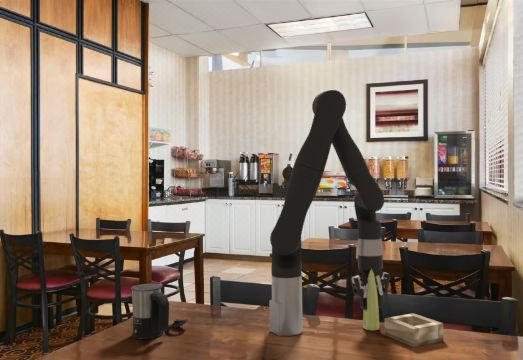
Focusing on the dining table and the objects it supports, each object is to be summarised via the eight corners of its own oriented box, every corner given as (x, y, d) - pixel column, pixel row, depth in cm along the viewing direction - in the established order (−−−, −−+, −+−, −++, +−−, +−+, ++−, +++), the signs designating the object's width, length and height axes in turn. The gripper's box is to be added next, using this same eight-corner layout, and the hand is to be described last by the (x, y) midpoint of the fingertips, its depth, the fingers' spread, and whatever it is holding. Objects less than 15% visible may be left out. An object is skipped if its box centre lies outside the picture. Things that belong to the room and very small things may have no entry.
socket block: (413, 347, 136) (413, 329, 136) (384, 335, 147) (384, 318, 147) (443, 340, 141) (443, 323, 141) (413, 329, 152) (413, 313, 152)
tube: (384, 329, 153) (383, 265, 152) (372, 332, 150) (371, 267, 150) (370, 325, 157) (369, 263, 157) (359, 327, 154) (358, 265, 154)
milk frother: (125, 337, 149) (124, 288, 149) (155, 323, 163) (155, 278, 163) (165, 343, 143) (164, 292, 143) (193, 327, 158) (192, 281, 158)
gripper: (380, 249, 160) (381, 302, 160) (343, 253, 154) (344, 308, 154) (396, 252, 153) (397, 307, 153) (358, 256, 147) (359, 314, 147)
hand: (371, 307), depth 154 cm, fingers closed on tube, 4 cm apart
